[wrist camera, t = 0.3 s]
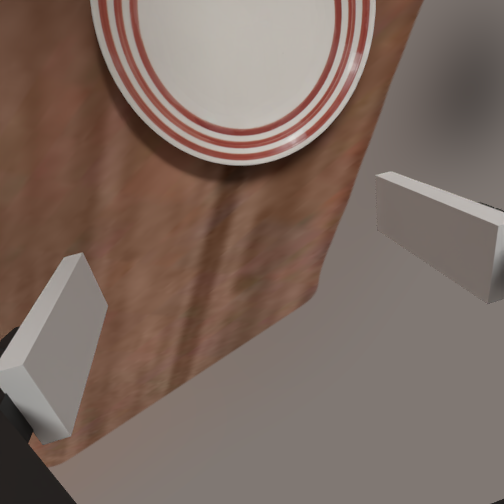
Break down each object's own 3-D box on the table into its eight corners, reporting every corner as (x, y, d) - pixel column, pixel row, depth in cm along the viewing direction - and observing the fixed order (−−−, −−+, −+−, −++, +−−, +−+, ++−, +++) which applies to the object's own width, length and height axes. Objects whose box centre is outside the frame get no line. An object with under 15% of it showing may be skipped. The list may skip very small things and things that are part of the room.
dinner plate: (411, -9, 38) (431, -17, 35) (271, 202, 44) (278, 210, 42) (188, -264, 27) (190, -307, 24) (47, 64, 34) (35, 61, 31)
